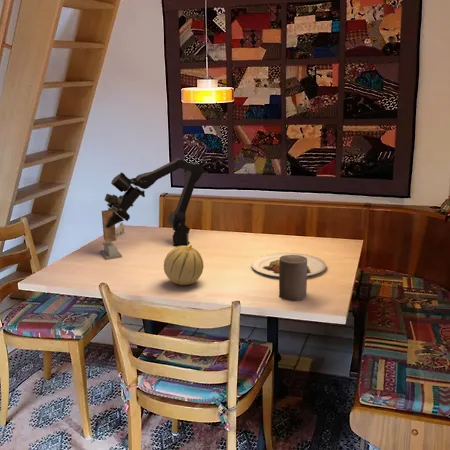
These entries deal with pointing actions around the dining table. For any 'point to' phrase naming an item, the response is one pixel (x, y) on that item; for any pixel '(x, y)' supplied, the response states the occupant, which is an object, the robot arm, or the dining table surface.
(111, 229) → the walnut post
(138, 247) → the dining table surface
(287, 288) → the pillar candle
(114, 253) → the grey box
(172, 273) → the cantaloupe
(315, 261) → the plated food
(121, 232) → the caliper
